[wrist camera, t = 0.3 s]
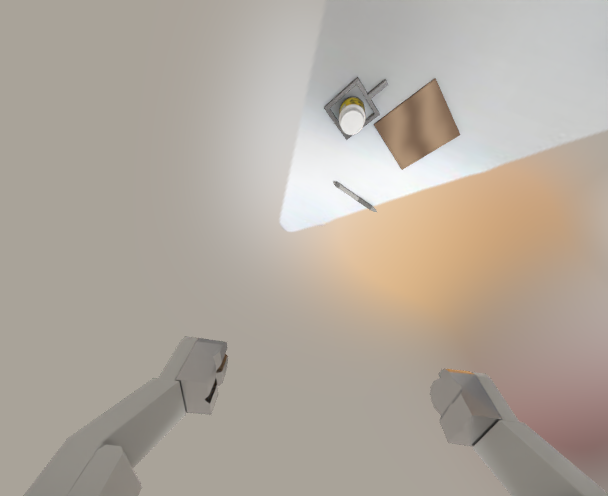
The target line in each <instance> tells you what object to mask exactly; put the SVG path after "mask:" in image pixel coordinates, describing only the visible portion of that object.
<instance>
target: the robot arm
mask: <svg viewBox="0 0 608 496" xmlns="http://www.w3.org/2000/svg"><path fill="white" fill-rule="evenodd" d="M226 350H227V342H223V341H216V340H209V339H203V338H196V337H188V336H185V337H184V338H183V339H182V340H181V341H180V343H179V345H178V346H177V348H176V349H175V351H174V353H173V354H172V356H171V358H170V359H169V361H168V363H167V364H166V366H165V368H164V369H163V371H162V373H161V374H160V376H159V378H153V379H151V380H150V381H149V382H147V383H146V384H144V385H143V386H142V387H140V388H139V389H137V390H136V391H134V392H133V393H131V394H130V395H129V396H127V397H126V398H124V399H123V400H121V401H120V402H119V403H117V404H116V405H114V406H113V407H112V408H110V409H109V410H107V411H106V412H104V413H103V414H101V415H100V416H99V417H97V418H96V419H94V420H93V421H91V422H90V423H89V424H87V425H86V426H84V427H83V428H81V429H80V430H79V431H77V432H76V433H74V434H73V435H72V436H70V437H69V438H68V439H67V440H66V441H65V442H64V444H63V445H62V446H61V448H60V449H59V450H58V451H57V453H56V454H55V455H54V457H53V458H52V459H51V460H50V462H49V463H48V464H47V466H46V467H45V468H44V470H43V471H42V472H41V473H40V475H39V476H38V477H37V479H36V480H35V481H34V483H33V484H32V485H31V487H30V488H29V489H28V490H27V492H26V493H25V494H24V495H23V496H138V495H139V493H140V490H141V483H140V481H139V479H138V477H137V475H136V473H135V471H134V470H133V468H134V467H135V466H136V465H137V464H138V463H139V462H140V461H141V460H142V459H143V457H145V456H146V455H147V454H148V453H149V452H150V450H151V449H152V448H153V447H154V446H155V445H156V444H157V443H158V442H159V441H160V440H161V439H162V438H163V437H164V436H165V435H166V434H167V433H168V432H169V431H170V430H171V429H172V428H173V427H174V426H175V425H176V424H177V423H178V422H179V421H180V420H181V419H182V418H183V417H184V416H185V415H186V413H198V414H209V415H210V414H212V411H213V408H214V405H215V402H216V400H217V397H218V386H219V385H220V384H221V383H222V382H223V380H224V377H225V373H226V369H227V363H228V356H227V355H226V354H225V353H226ZM439 377H440V378H439V379H437V380H436V381H434V382H433V384H432V386H431V392H430V395H431V400H432V403H433V406H434V408H435V409H436V410H437V411H438V412H439V413H440V415H441V418H440V424H441V426H442V429H443V431H444V433H445V436H446V438H447V441H448V443H453V444H459V445H467V446H473V449H474V451H475V452H476V453H477V454H478V456H479V457H480V458H481V459H482V460H483V462H484V463H485V464H486V465H487V466H488V468H489V469H490V470H491V471H492V472H493V474H494V475H495V476H496V477H497V478H498V480H499V481H500V482H501V483H502V485H503V486H504V487H505V488H506V489H507V491H508V492H509V493H510V494H511V495H512V496H608V493H607V492H606V491H604V490H603V489H602V488H601V487H600V486H598V485H597V484H596V483H595V482H594V481H593V480H591V479H590V478H589V477H588V476H587V475H585V474H584V473H583V472H582V471H581V470H579V469H578V468H577V467H576V466H575V465H574V464H572V463H571V462H570V461H569V460H568V459H566V458H565V457H564V456H563V455H562V454H560V453H559V452H558V451H557V450H556V449H554V448H553V447H552V446H551V445H550V444H549V443H547V442H546V441H545V440H544V439H542V438H541V437H540V436H539V435H538V434H536V433H535V432H534V431H533V430H532V429H531V428H529V427H528V426H527V425H526V424H525V423H522V422H519V421H518V419H517V418H516V416H515V415H514V413H513V412H512V410H511V409H510V407H509V405H508V404H507V402H506V401H505V399H504V398H503V397H502V395H501V393H500V392H499V390H498V389H497V387H496V386H495V384H494V383H493V381H492V380H491V378H490V377H489V376H488V375H487V374H484V373H476V372H470V371H463V370H452V369H443V370H441V371H440V372H439Z"/></svg>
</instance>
